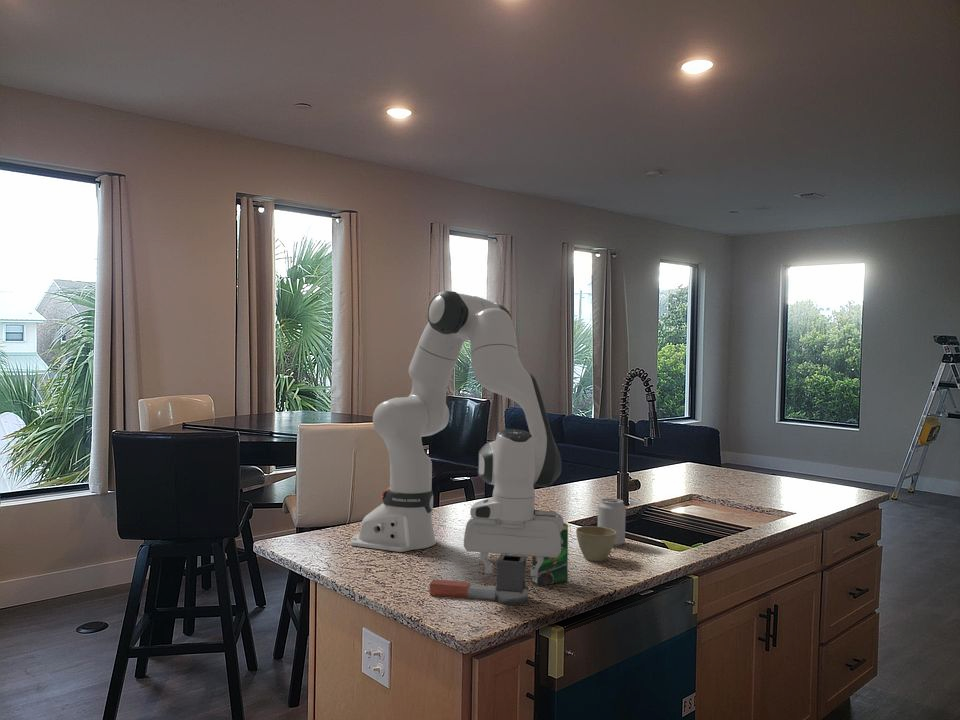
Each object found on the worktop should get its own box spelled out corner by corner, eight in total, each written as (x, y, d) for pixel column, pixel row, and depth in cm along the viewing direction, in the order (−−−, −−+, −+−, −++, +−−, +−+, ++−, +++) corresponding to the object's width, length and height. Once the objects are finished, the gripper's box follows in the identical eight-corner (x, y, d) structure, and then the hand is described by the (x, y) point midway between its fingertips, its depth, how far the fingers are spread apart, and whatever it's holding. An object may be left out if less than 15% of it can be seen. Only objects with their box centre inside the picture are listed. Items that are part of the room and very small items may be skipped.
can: (626, 541, 198) (627, 498, 198) (622, 548, 191) (624, 503, 191) (599, 538, 200) (600, 496, 200) (594, 545, 193) (595, 501, 193)
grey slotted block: (496, 590, 147) (497, 561, 147) (500, 582, 152) (500, 554, 152) (522, 592, 146) (523, 563, 146) (525, 584, 151) (526, 556, 151)
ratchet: (427, 598, 148) (428, 571, 148) (435, 587, 155) (435, 562, 155) (526, 606, 145) (526, 579, 145) (529, 595, 152) (530, 569, 152)
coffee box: (536, 586, 157) (538, 527, 157) (530, 582, 160) (531, 524, 160) (568, 582, 161) (569, 524, 161) (561, 579, 163) (563, 521, 163)
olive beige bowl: (606, 567, 174) (607, 537, 174) (568, 560, 179) (569, 531, 179) (621, 557, 182) (622, 529, 182) (585, 551, 187) (585, 523, 187)
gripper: (564, 508, 150) (562, 574, 150) (468, 502, 154) (466, 566, 154) (562, 515, 144) (560, 583, 144) (462, 508, 147) (461, 575, 147)
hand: (511, 574), depth 149 cm, fingers open, 8 cm apart
